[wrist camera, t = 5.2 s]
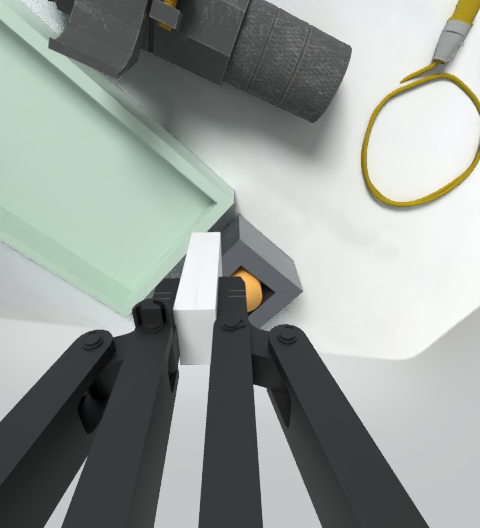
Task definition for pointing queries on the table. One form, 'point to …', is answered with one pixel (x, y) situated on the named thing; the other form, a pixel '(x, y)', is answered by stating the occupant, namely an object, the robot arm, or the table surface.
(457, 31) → the extension cord
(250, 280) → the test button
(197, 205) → the tray
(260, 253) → the grey square holder
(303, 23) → the laser sight
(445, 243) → the table surface
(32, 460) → the robot arm
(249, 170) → the table surface
